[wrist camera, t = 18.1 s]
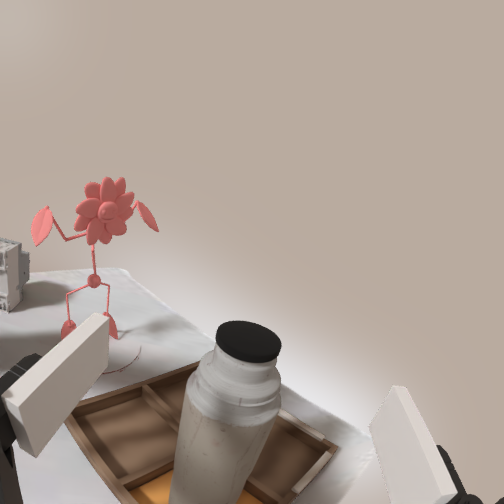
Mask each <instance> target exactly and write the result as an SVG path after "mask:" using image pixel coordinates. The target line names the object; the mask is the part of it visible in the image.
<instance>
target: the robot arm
mask: <svg viewBox="0 0 504 504" xmlns="http://www.w3.org/2000/svg"><path fill="white" fill-rule="evenodd" d="M109 319H110V317H107V316H104V315H102V314H99V313H96V312H95V313H93V314H92V315H91V316H90V317H89V318H88V319H86V320H85V321H84V322H83V323H82V324H80V325H79V326H78V327H77V328H76V329H75V330H73V331H72V332H71V333H70V334H69V335H68V336H66V337H65V338H64V339H63V340H62V341H61V342H59V343H58V344H57V345H56V346H55V347H54V348H53V349H51V350H50V351H49V352H48V353H47V354H46V355H45V356H44V357H42V356H40V355H38V354H36V353H35V354H32V355H29V356H27V357H24V358H23V359H22V360H21V361H20V362H18V363H17V364H16V366H14V367H13V368H11V369H10V371H8V372H7V373H6V374H4V375H3V376H2V377H1V378H0V504H23V500H22V496H21V491H20V487H19V482H18V476H17V471H16V465H15V459H14V452H13V447H12V443H13V442H14V441H15V440H16V439H17V442H18V444H19V447H20V448H21V449H22V450H24V451H26V452H27V453H29V454H30V455H32V456H33V457H35V458H37V457H38V455H39V454H40V453H41V451H42V450H43V449H44V447H45V446H46V445H47V443H48V442H49V441H50V439H51V438H52V437H53V435H54V434H55V433H56V431H57V430H58V429H59V427H60V426H61V425H62V424H63V422H64V421H65V420H66V418H67V417H68V416H69V414H70V413H71V412H72V411H73V409H74V408H75V407H76V406H77V404H78V403H79V402H80V400H81V399H82V398H83V397H84V395H85V394H86V393H87V392H88V390H89V389H90V388H91V387H92V385H93V384H94V383H95V382H96V380H97V379H98V378H99V377H100V375H101V374H102V373H103V372H104V370H105V369H106V368H107V367H108V349H109ZM369 430H370V433H371V436H372V440H373V443H374V446H375V450H376V453H377V456H378V460H379V463H380V466H381V470H382V474H383V477H384V481H385V484H386V488H387V492H388V495H389V499H390V503H391V504H483V503H482V501H481V500H480V499H479V498H478V497H477V496H475V495H472V494H467V493H466V491H465V489H464V487H463V485H462V482H461V480H460V478H459V476H458V474H457V472H456V470H454V469H455V468H454V466H453V464H452V463H451V459H450V457H449V456H448V453H447V452H446V451H445V450H444V449H443V448H442V447H441V446H440V445H435V443H434V440H433V439H432V436H431V434H430V432H429V430H428V428H427V426H426V424H425V422H424V420H423V418H422V417H421V414H420V413H419V411H418V409H417V407H416V405H415V403H414V401H413V399H412V397H411V395H410V393H409V392H408V390H407V388H406V387H403V386H395V385H393V386H392V388H391V389H390V392H389V393H388V395H387V397H386V398H385V400H384V402H383V403H382V405H381V407H380V409H379V410H378V412H377V413H376V415H375V417H374V418H373V420H372V422H371V423H370V425H369ZM495 504H504V497H503V498H501V499H500V500H499V501H498V502H497V503H495Z"/></svg>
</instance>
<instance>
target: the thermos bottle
mask: <svg viewBox="0 0 504 504" xmlns="http://www.w3.org/2000/svg"><path fill="white" fill-rule="evenodd" d="M280 349H281V341H280V339H279V337H278V336H277V335H276V334H275V333H274V332H272V331H271V330H269V329H268V328H265V327H263V326H261V325H259V324H256V323H252V322H247V321H229V322H225V323H223V324H221V325H220V326H219V327H218V330H217V333H216V344H215V347H214V350H212V351H210V352H208V353H207V354H205V355H204V356H203V357H202V359H201V361H200V364H199V366H198V367H197V370H196V371H194V372H193V373H192V374H191V375H190V377H189V379H188V381H187V384H186V390H185V396H184V402H183V408H182V414H181V420H180V426H179V432H178V438H177V445H176V451H175V458H174V470H173V475H172V479H171V486H170V493H169V501H168V504H236V502H237V500H238V499H239V497H240V495H241V493H242V490H243V488H244V486H245V483H246V480H247V478H248V477H249V475H250V473H251V472H252V470H253V468H254V466H255V464H256V462H257V460H258V458H259V455H260V453H261V451H262V449H263V447H264V445H265V442H266V440H267V438H268V436H269V433H270V431H271V429H272V427H273V424H274V422H275V420H276V417H277V415H278V413H279V410H280V407H281V397H280V394H279V392H280V384H281V377H280V374H279V372H278V370H277V368H276V367H275V365H276V362H277V356H278V355H279V352H280Z"/></svg>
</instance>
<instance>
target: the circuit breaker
mask: <svg viewBox="0 0 504 504" xmlns="http://www.w3.org/2000/svg"><path fill="white" fill-rule="evenodd" d="M21 246H22V244H21V243H20V242H15V241H11V240H7V239H3V238H0V311H2V312H5V313H9V311H11V310H12V309H13V308H14V307H15V306H16V305H17V304H18V303H19V302H21V301H22V300H23V295H22V292H21V290H22V286H23V285H24V284H25V283H26V282H27V281H28V280H29V263H30V260H29V252H25V251H21ZM2 309H3V310H2Z"/></svg>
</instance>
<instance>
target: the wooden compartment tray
mask: <svg viewBox="0 0 504 504" xmlns="http://www.w3.org/2000/svg"><path fill="white" fill-rule="evenodd" d="M200 361H201V360H200ZM200 361H198V362H195V363H192V364H190V365H187V366H184V367H182V368H179V369H176V370H173V371H171V372H168V373H165V374H162V375H159V376H157V377H154V378H151V379H148V380H145V381H142V382H139V383H136V384H133V385H130V386H127V387H124V388H121V389H118V390H115V391H111V392H108V393H105V394H102V395H98V396H95V397H92V398H88V399H85V400H81V401H80V402H79V403H78V404H77V406H76V407H75V408H74V409H73V411H72V412H71V413H70V414H69V416H68V417H67V418H66V420H65V421H64V423H65V425H66V427H67V428H68V430H69V432H70V433H71V435H72V436H73V438H74V440H75V441H76V443H77V444H78V446H79V447H80V449H81V450H82V452H83V453H84V455H85V456H86V458H87V459H88V461H89V462H90V463H91V465H92V466H93V468H94V469H95V470H96V472H97V473H98V475H99V476H100V477H101V479H102V480H103V481H104V482H105V484H106V485H107V486H108V488H109V489H110V490H111V491H112V493H113V494H114V495H115V496H116V498H117V499H118V500H119V501H120V502H121V504H168V501H169V493H170V486H171V479H172V475H173V470H174V458H175V451H176V445H177V438H178V432H179V426H180V420H181V414H182V408H183V402H184V396H185V390H186V384H187V381H188V379H189V377H190V375H191V374H192V373H193V372H194V371H196V370H197V367H198V366H199V364H200ZM324 437H325V435H323V434H321V433H320V432H318V431H316V430H315V429H313V428H311V427H310V426H308V425H306V424H305V423H303V422H302V421H300V420H298V419H297V418H295V417H294V416H292V415H290V414H289V413H287V412H286V411H284V410H283V409H281V408H280V410H279V413H278V415H277V417H276V420H275V422H274V424H273V427H272V429H271V431H270V433H269V436H268V438H267V440H266V442H265V445H264V447H263V449H262V451H261V453H260V455H259V458H258V460H257V462H256V464H255V466H254V468H253V470H252V472H251V473H250V475H249V477H248V478H247V480H246V483H245V486H244V488H243V490H242V493H241V495H240V497H239V499H238V500H237V502H236V504H290V503H291V502H292V501H293V500H294V499H295V498H296V497H297V496H298V495H299V494H300V493H301V492H302V491H303V490H304V489H305V488H306V487H307V485H308V484H309V483H310V482H311V481H312V480H313V479H314V478H315V477H316V475H317V474H318V473H319V472H320V471H321V470H322V469H323V467H324V466H325V465H326V464H327V463H328V461H329V460H330V459H331V458H332V456H333V455H334V453H335V452H336V450H337V448H338V446H336V445H334V444H333V443H331V442H329V441H327V440H326V439H324Z"/></svg>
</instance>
